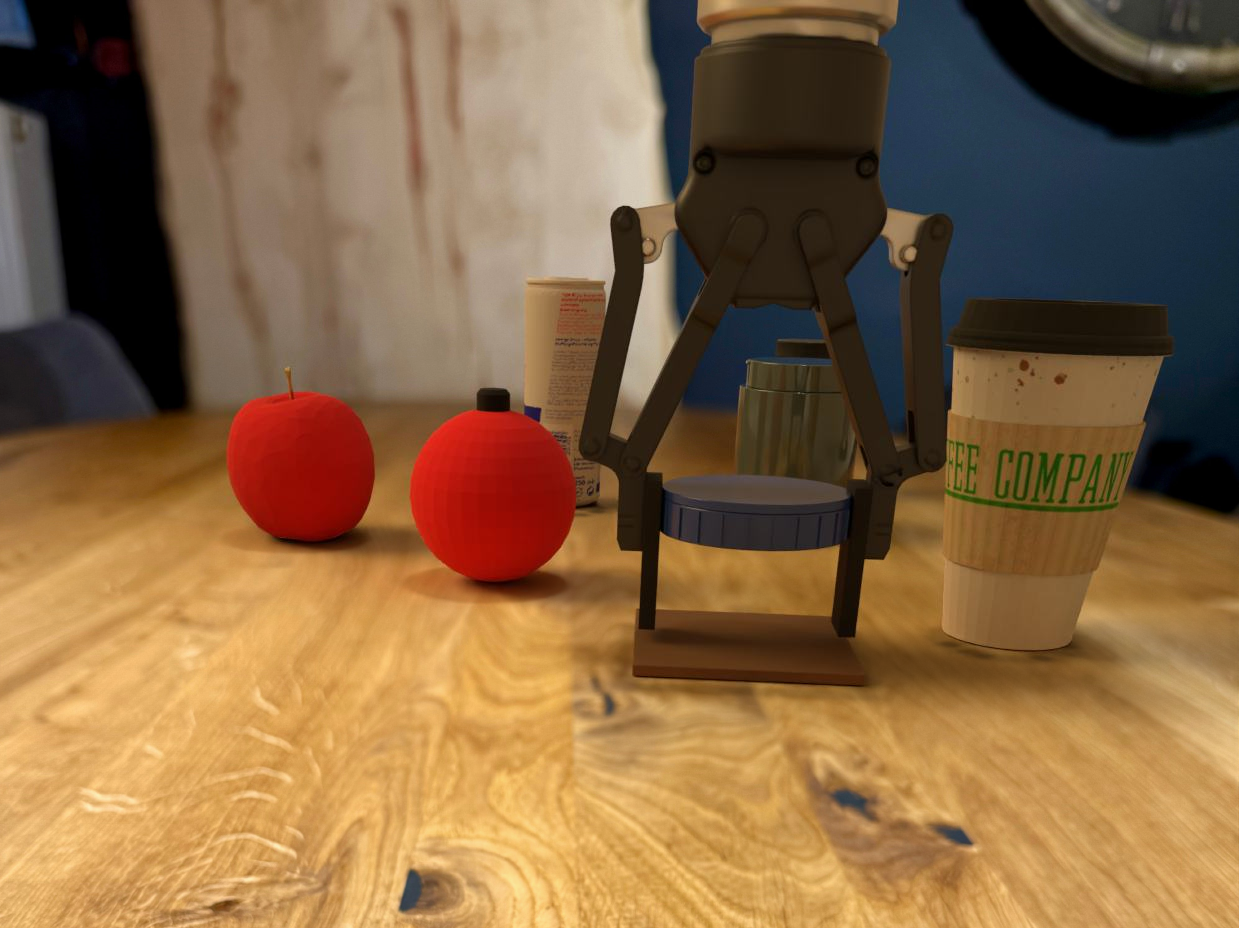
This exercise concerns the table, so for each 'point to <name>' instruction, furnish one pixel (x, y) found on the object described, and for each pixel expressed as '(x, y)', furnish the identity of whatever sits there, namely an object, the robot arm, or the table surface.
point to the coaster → (744, 648)
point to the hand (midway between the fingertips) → (744, 625)
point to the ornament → (493, 492)
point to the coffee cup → (1039, 458)
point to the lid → (755, 512)
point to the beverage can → (564, 364)
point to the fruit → (301, 464)
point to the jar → (794, 422)
